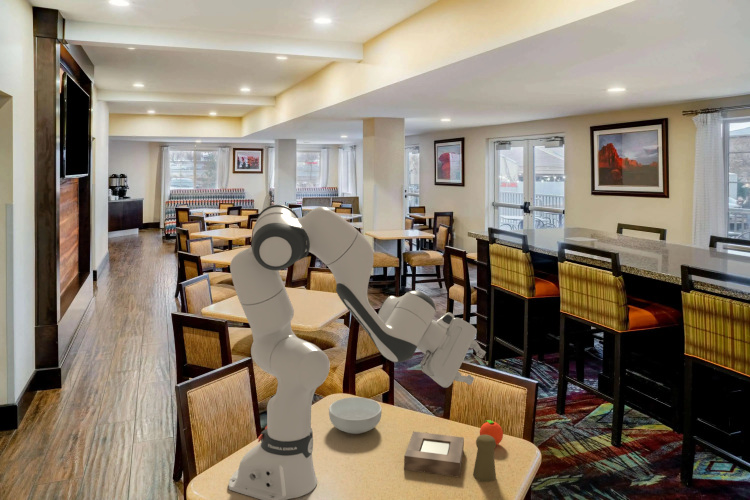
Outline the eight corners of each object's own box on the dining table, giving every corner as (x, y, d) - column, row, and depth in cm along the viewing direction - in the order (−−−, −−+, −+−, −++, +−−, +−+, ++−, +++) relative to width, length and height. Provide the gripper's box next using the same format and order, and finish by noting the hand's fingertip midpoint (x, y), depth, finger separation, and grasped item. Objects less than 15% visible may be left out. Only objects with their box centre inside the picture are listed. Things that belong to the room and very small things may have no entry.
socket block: (404, 469, 148) (404, 455, 148) (412, 444, 163) (413, 431, 162) (459, 477, 145) (459, 463, 144) (463, 450, 159) (463, 437, 159)
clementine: (473, 439, 167) (474, 417, 166) (493, 436, 169) (494, 414, 168) (486, 451, 159) (487, 428, 158) (507, 448, 161) (508, 425, 160)
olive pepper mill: (496, 483, 142) (498, 443, 141) (472, 480, 144) (474, 440, 142) (495, 471, 148) (497, 433, 147) (473, 468, 149) (474, 430, 148)
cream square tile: (420, 455, 151) (420, 452, 151) (423, 443, 158) (424, 440, 158) (446, 459, 149) (446, 456, 149) (449, 446, 156) (449, 443, 156)
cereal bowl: (324, 419, 178) (324, 399, 178) (373, 414, 183) (373, 394, 182) (334, 444, 162) (334, 421, 161) (387, 437, 167) (388, 415, 166)
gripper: (422, 362, 134) (470, 393, 133) (451, 308, 148) (495, 335, 147) (413, 373, 139) (459, 403, 137) (442, 320, 153) (485, 347, 151)
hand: (478, 368), depth 142 cm, fingers open, 8 cm apart
